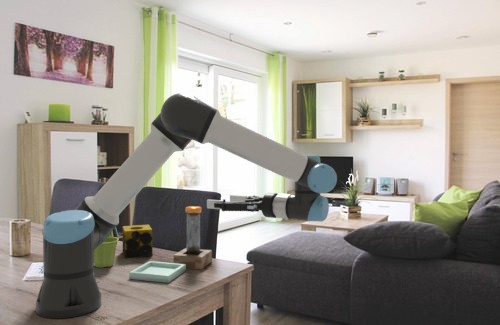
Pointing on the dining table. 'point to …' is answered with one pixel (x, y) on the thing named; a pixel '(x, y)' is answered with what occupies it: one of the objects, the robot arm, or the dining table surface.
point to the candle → (137, 241)
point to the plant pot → (105, 253)
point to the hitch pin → (193, 230)
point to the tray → (157, 271)
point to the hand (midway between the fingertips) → (219, 201)
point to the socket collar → (193, 259)
